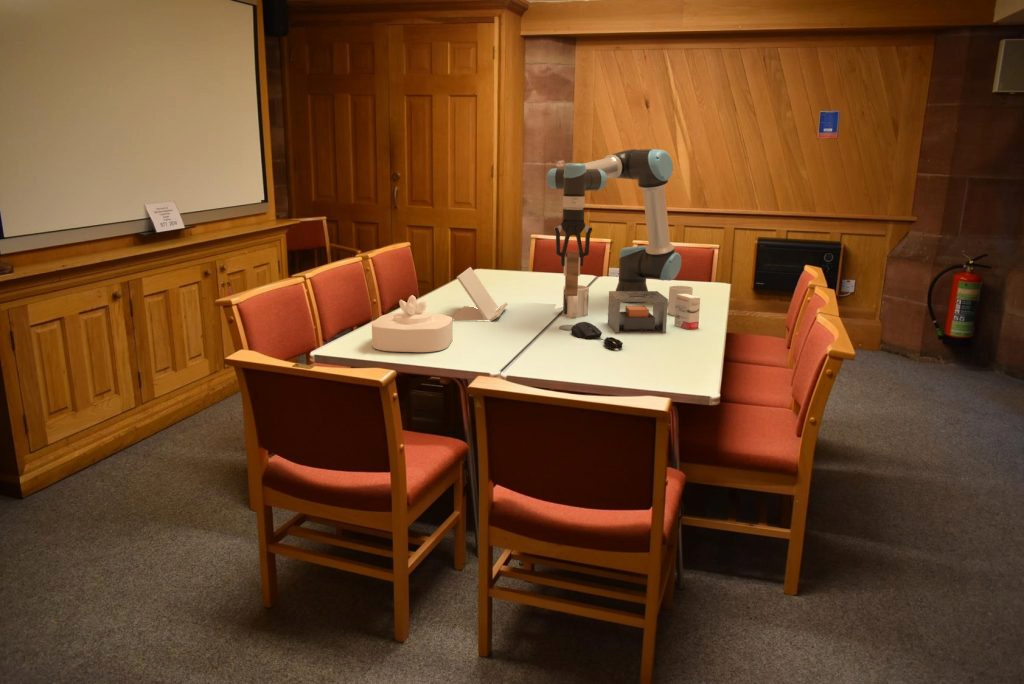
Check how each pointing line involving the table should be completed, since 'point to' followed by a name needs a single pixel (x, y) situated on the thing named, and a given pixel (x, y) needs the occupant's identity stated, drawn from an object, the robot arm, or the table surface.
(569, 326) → the coaster
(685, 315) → the ink box
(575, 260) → the walnut block
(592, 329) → the computer mouse
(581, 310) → the mug
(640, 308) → the breaker button
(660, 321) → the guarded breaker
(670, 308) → the mug
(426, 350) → the pink flower lid box
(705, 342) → the table surface
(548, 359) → the table surface
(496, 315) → the tablet stand
